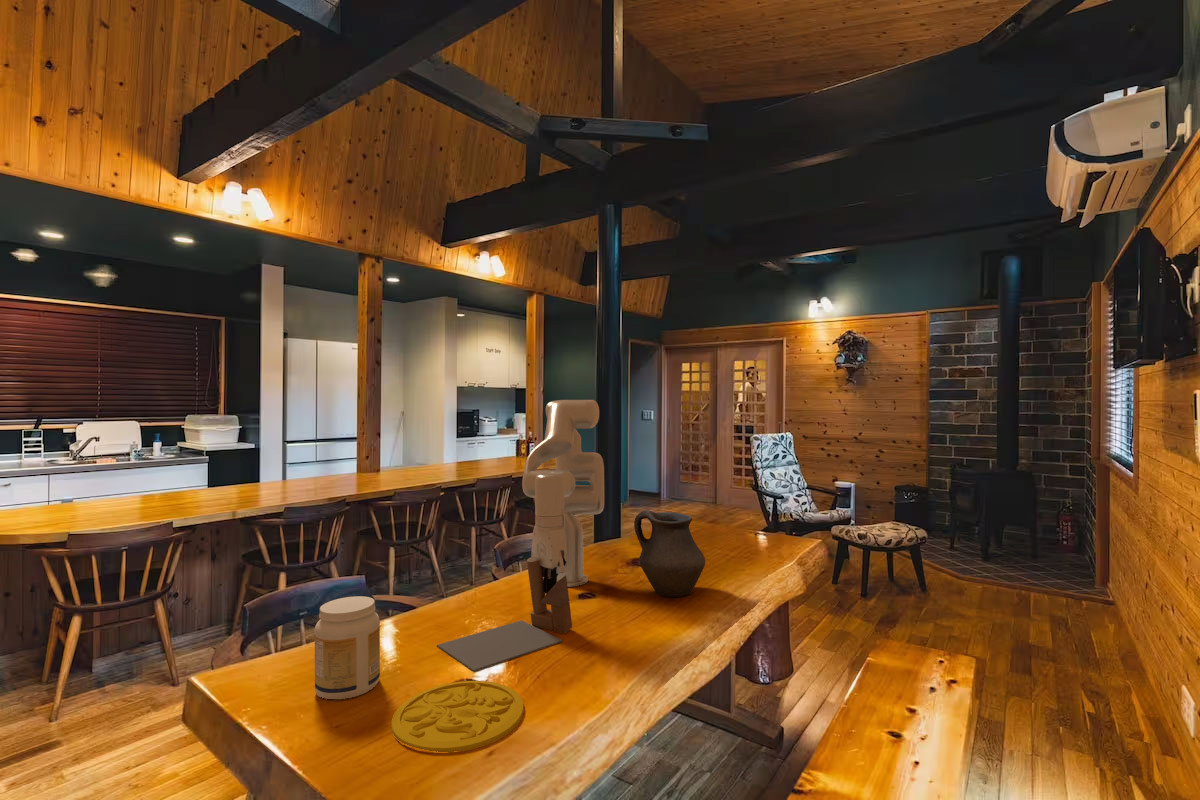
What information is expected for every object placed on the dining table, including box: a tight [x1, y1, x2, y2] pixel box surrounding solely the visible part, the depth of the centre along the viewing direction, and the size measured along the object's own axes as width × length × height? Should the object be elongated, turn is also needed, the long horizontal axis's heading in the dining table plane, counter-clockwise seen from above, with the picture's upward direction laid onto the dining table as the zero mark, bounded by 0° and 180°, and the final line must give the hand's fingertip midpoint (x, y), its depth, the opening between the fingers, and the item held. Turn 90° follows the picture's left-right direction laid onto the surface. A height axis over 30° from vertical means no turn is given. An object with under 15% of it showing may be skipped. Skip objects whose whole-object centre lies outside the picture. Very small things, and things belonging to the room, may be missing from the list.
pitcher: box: [633, 509, 706, 598], centre depth 175 cm, size 21×22×25 cm
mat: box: [436, 619, 563, 673], centre depth 137 cm, size 18×24×1 cm
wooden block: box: [526, 556, 573, 634], centre depth 146 cm, size 4×11×18 cm, turn 57°
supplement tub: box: [313, 595, 381, 700], centre depth 116 cm, size 12×12×17 cm
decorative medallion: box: [391, 680, 524, 752], centre depth 105 cm, size 24×24×2 cm
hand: (550, 592), depth 147 cm, fingers closed
